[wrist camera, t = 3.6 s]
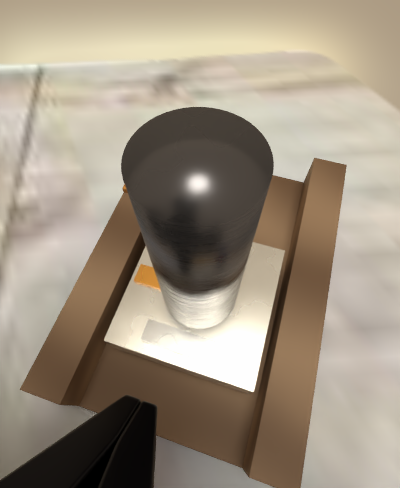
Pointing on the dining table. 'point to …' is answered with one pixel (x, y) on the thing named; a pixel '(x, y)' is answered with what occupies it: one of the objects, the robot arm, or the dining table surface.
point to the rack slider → (199, 247)
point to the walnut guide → (192, 387)
